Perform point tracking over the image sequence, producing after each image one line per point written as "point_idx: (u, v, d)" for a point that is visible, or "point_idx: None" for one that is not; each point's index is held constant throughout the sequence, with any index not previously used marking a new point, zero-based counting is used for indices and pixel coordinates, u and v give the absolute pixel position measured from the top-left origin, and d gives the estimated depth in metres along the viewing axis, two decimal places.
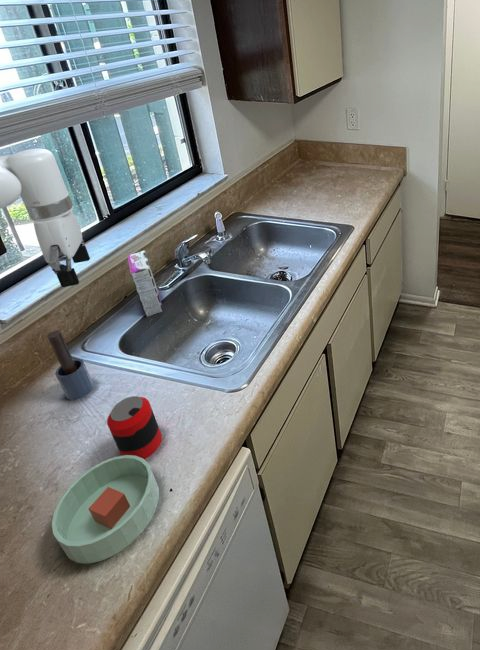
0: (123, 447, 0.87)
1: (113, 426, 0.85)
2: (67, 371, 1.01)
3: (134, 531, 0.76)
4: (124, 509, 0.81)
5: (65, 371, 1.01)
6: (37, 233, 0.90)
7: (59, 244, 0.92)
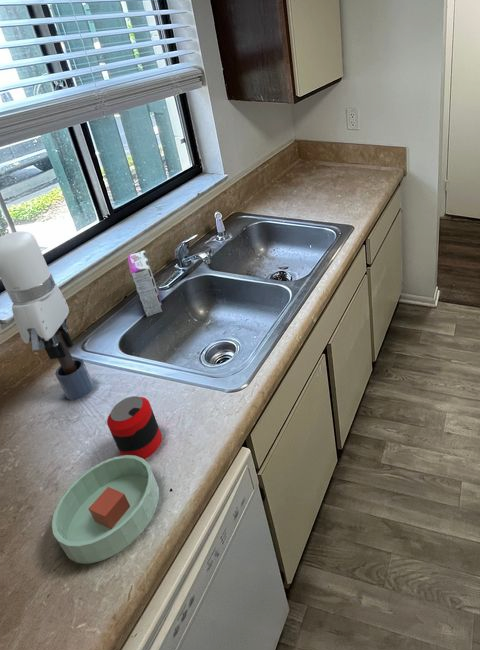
0: (123, 447, 0.87)
1: (113, 426, 0.85)
2: (67, 371, 1.01)
3: (134, 531, 0.76)
4: (124, 509, 0.81)
5: (65, 371, 1.01)
6: (14, 316, 0.89)
7: (35, 327, 0.91)
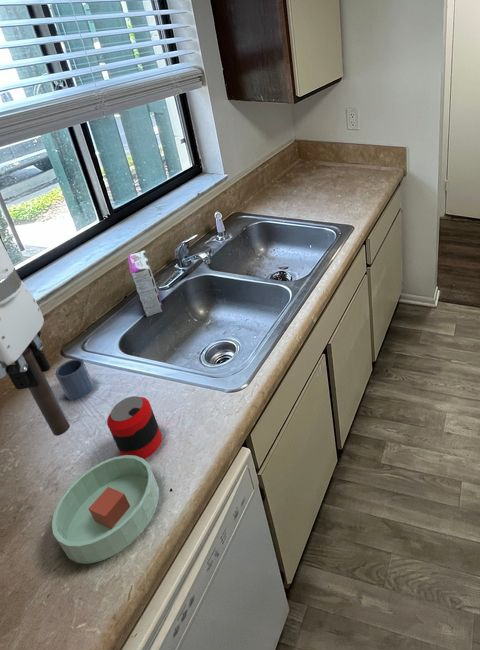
0: (123, 447, 0.87)
1: (113, 426, 0.85)
2: (42, 405, 0.72)
3: (134, 531, 0.76)
4: (124, 509, 0.81)
5: (39, 405, 0.72)
6: None
7: None
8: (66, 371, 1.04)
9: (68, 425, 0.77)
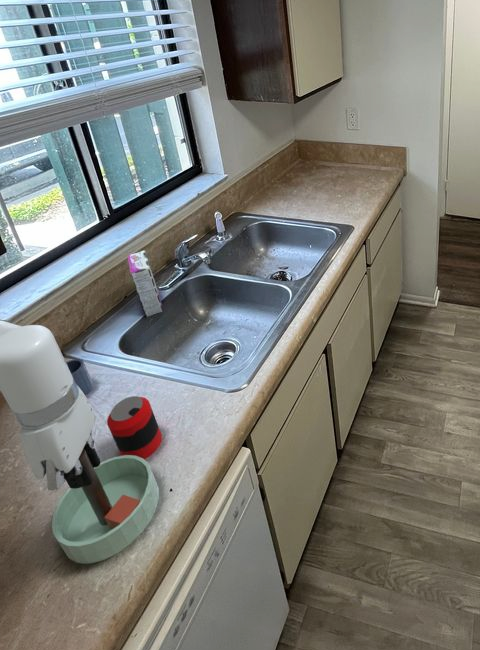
0: (123, 447, 0.87)
1: (113, 426, 0.85)
2: (92, 499, 0.75)
3: (134, 531, 0.76)
4: None
5: (90, 500, 0.75)
6: (23, 446, 0.63)
7: (53, 459, 0.64)
8: None
9: None
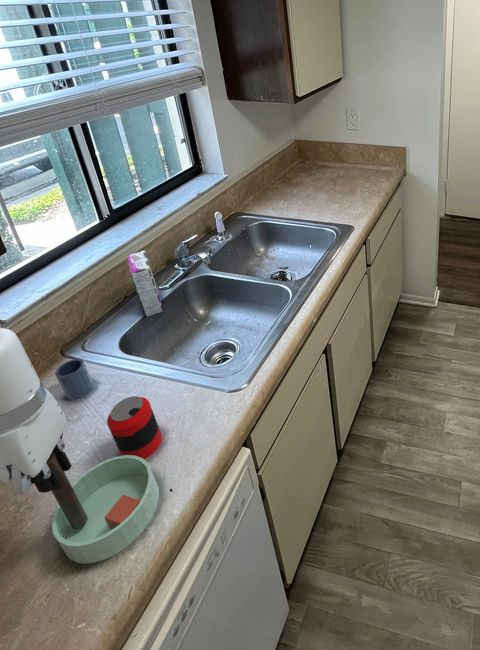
0: (123, 447, 0.87)
1: (113, 426, 0.85)
2: (63, 503, 0.74)
3: (134, 531, 0.76)
4: None
5: (60, 503, 0.74)
6: None
7: (18, 463, 0.64)
8: (66, 371, 1.04)
9: (86, 518, 0.79)
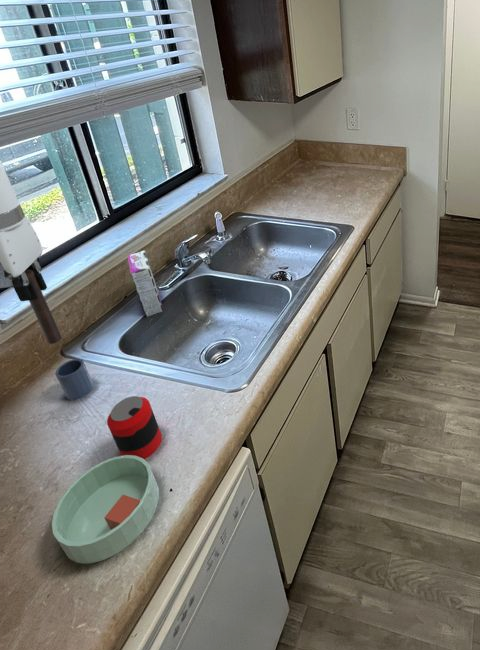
0: (123, 447, 0.87)
1: (113, 426, 0.85)
2: (40, 316, 0.92)
3: (134, 531, 0.76)
4: None
5: (38, 316, 0.92)
6: None
7: (1, 261, 0.82)
8: (66, 371, 1.04)
9: (60, 337, 0.96)
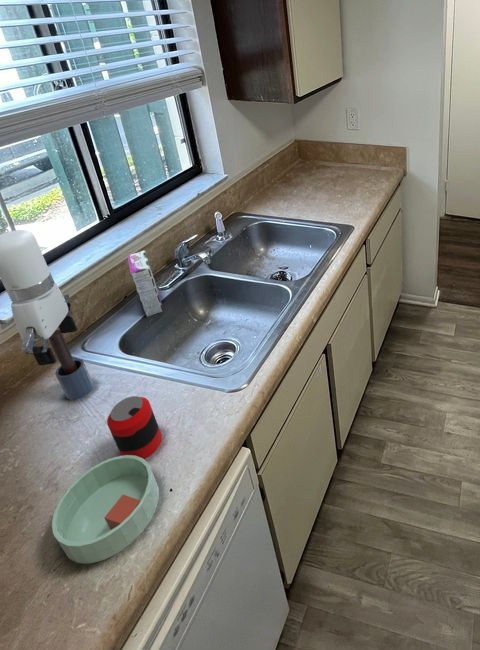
0: (123, 447, 0.87)
1: (113, 426, 0.85)
2: (67, 371, 1.01)
3: (134, 531, 0.76)
4: None
5: (65, 371, 1.01)
6: (14, 315, 0.89)
7: (35, 326, 0.91)
8: None
9: None
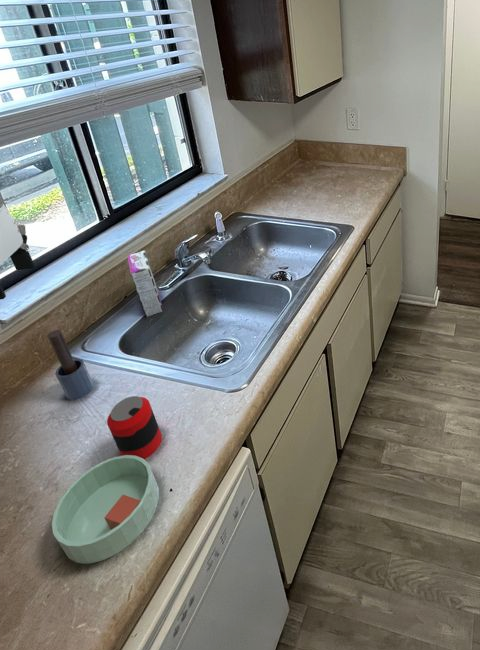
0: (123, 447, 0.87)
1: (113, 426, 0.85)
2: (67, 371, 1.01)
3: (134, 531, 0.76)
4: None
5: (65, 371, 1.01)
6: None
7: None
8: None
9: None
